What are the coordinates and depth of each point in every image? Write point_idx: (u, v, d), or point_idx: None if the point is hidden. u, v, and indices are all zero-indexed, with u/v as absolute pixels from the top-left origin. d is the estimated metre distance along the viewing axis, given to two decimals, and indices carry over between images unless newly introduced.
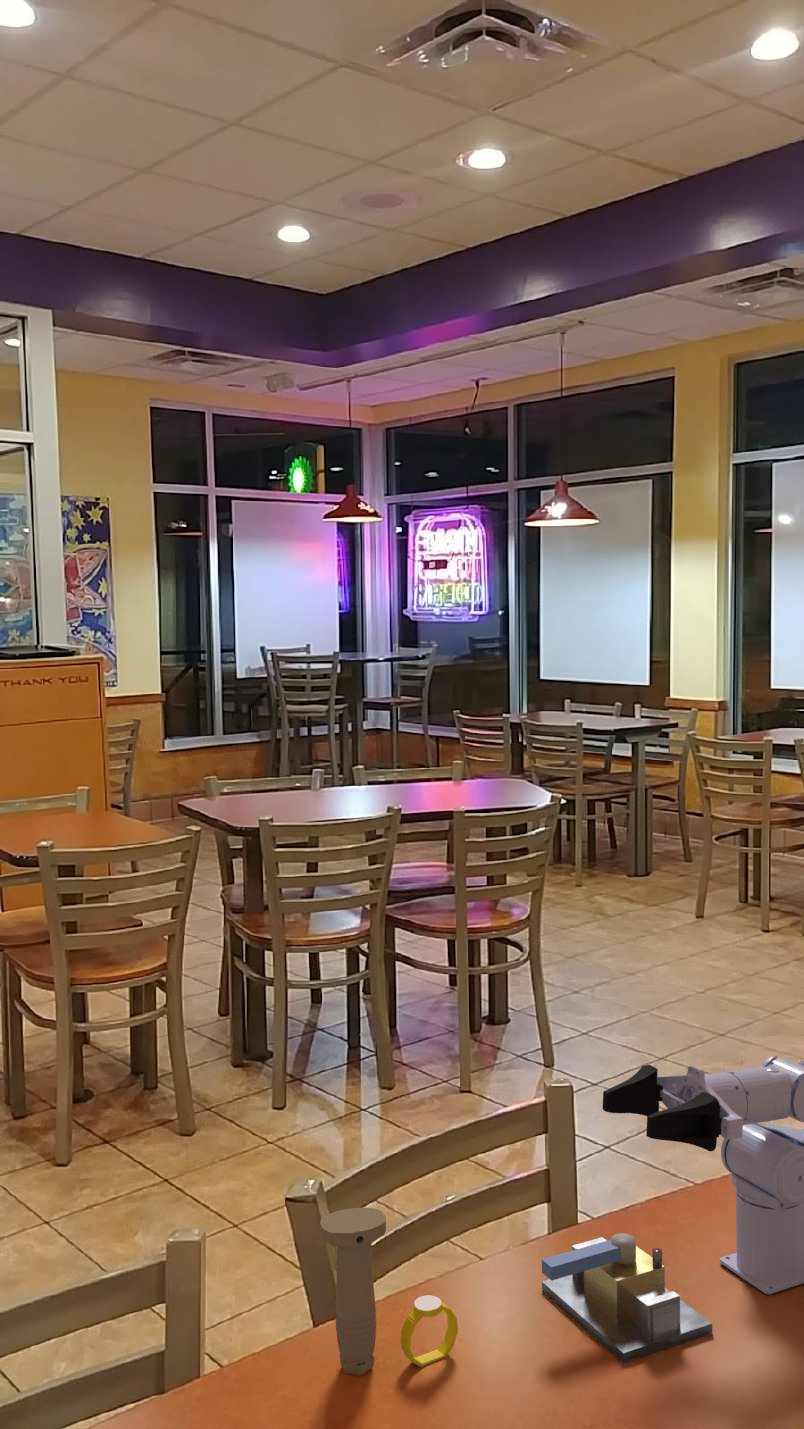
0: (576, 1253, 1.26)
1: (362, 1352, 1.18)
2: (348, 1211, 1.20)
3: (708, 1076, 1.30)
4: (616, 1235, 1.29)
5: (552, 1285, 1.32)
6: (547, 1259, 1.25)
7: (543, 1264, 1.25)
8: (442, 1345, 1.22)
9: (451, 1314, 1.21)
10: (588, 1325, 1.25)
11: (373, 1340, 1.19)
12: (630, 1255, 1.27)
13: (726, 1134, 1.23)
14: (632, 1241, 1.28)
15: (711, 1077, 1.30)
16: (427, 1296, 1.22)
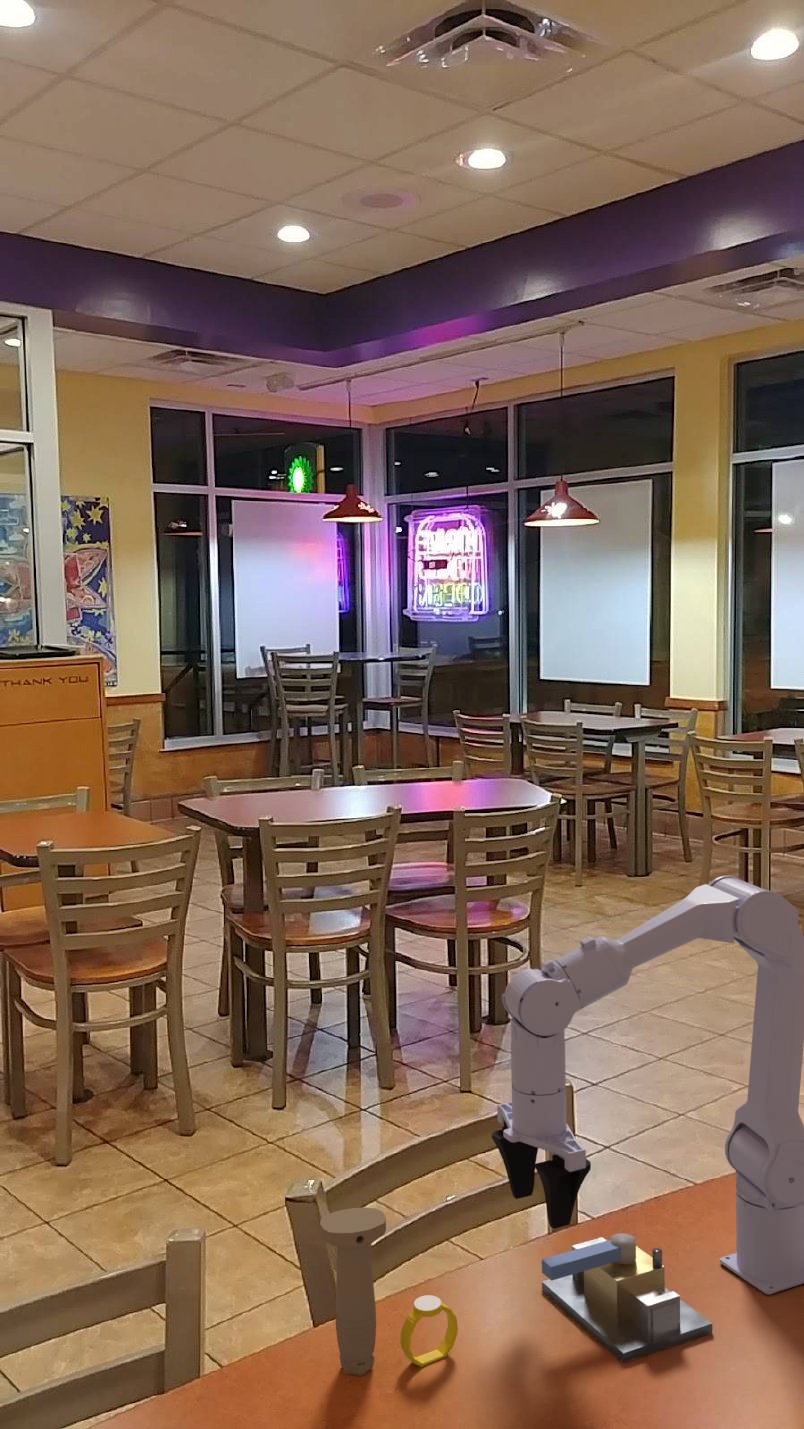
0: (576, 1253, 1.26)
1: (362, 1352, 1.18)
2: (348, 1211, 1.20)
3: (516, 1119, 1.27)
4: (616, 1235, 1.29)
5: (552, 1285, 1.32)
6: (547, 1259, 1.25)
7: (543, 1264, 1.25)
8: (442, 1345, 1.22)
9: (451, 1314, 1.21)
10: (588, 1325, 1.25)
11: (373, 1340, 1.19)
12: (630, 1255, 1.27)
13: None
14: (632, 1241, 1.28)
15: (518, 1119, 1.27)
16: (427, 1296, 1.22)
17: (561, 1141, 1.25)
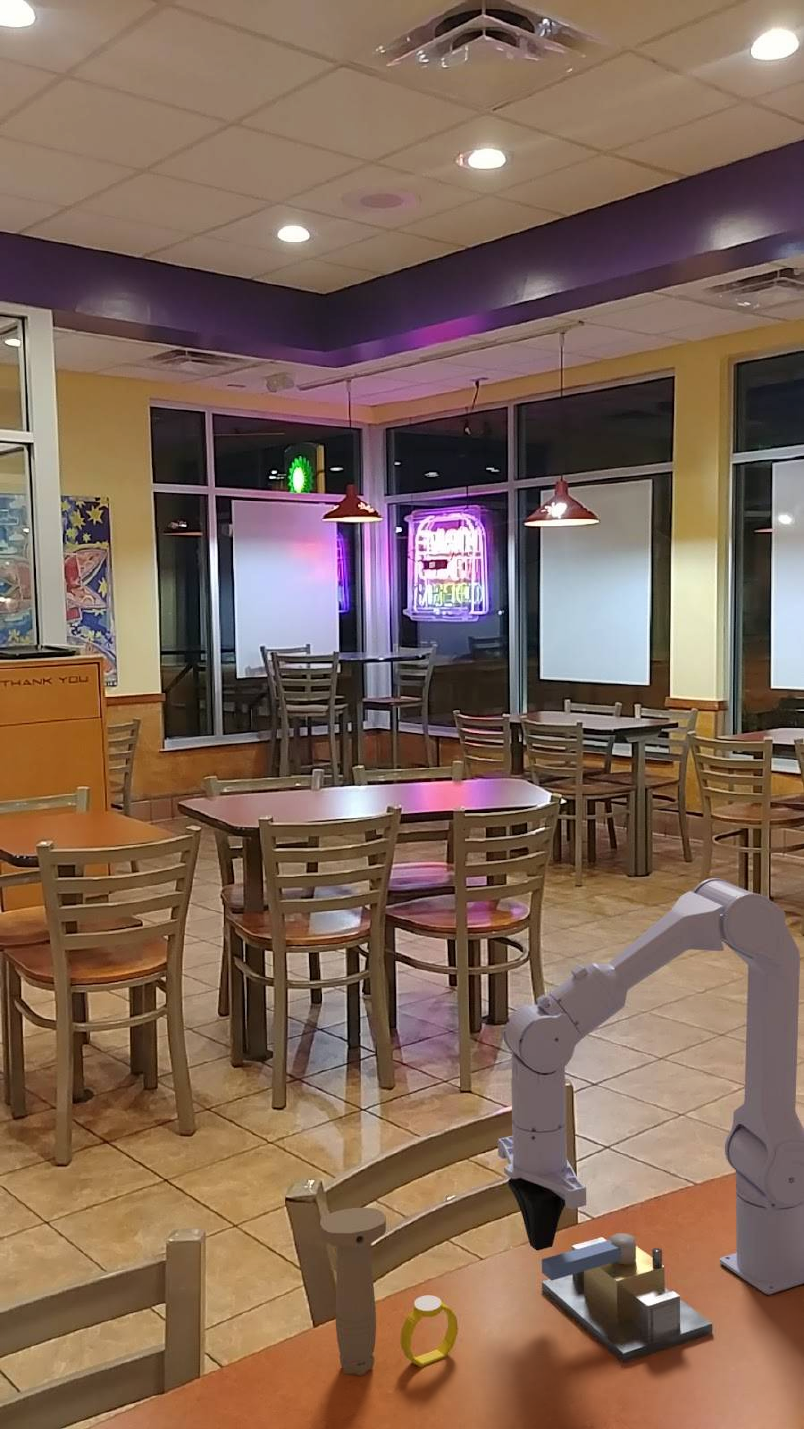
0: (576, 1253, 1.26)
1: (362, 1352, 1.18)
2: (347, 1211, 1.20)
3: (516, 1155, 1.28)
4: (616, 1235, 1.29)
5: (552, 1285, 1.32)
6: (547, 1259, 1.25)
7: (543, 1264, 1.25)
8: (442, 1345, 1.22)
9: (451, 1314, 1.21)
10: (588, 1325, 1.25)
11: (373, 1340, 1.19)
12: (630, 1255, 1.27)
13: None
14: (632, 1241, 1.28)
15: (518, 1155, 1.27)
16: (427, 1296, 1.22)
17: (561, 1178, 1.25)
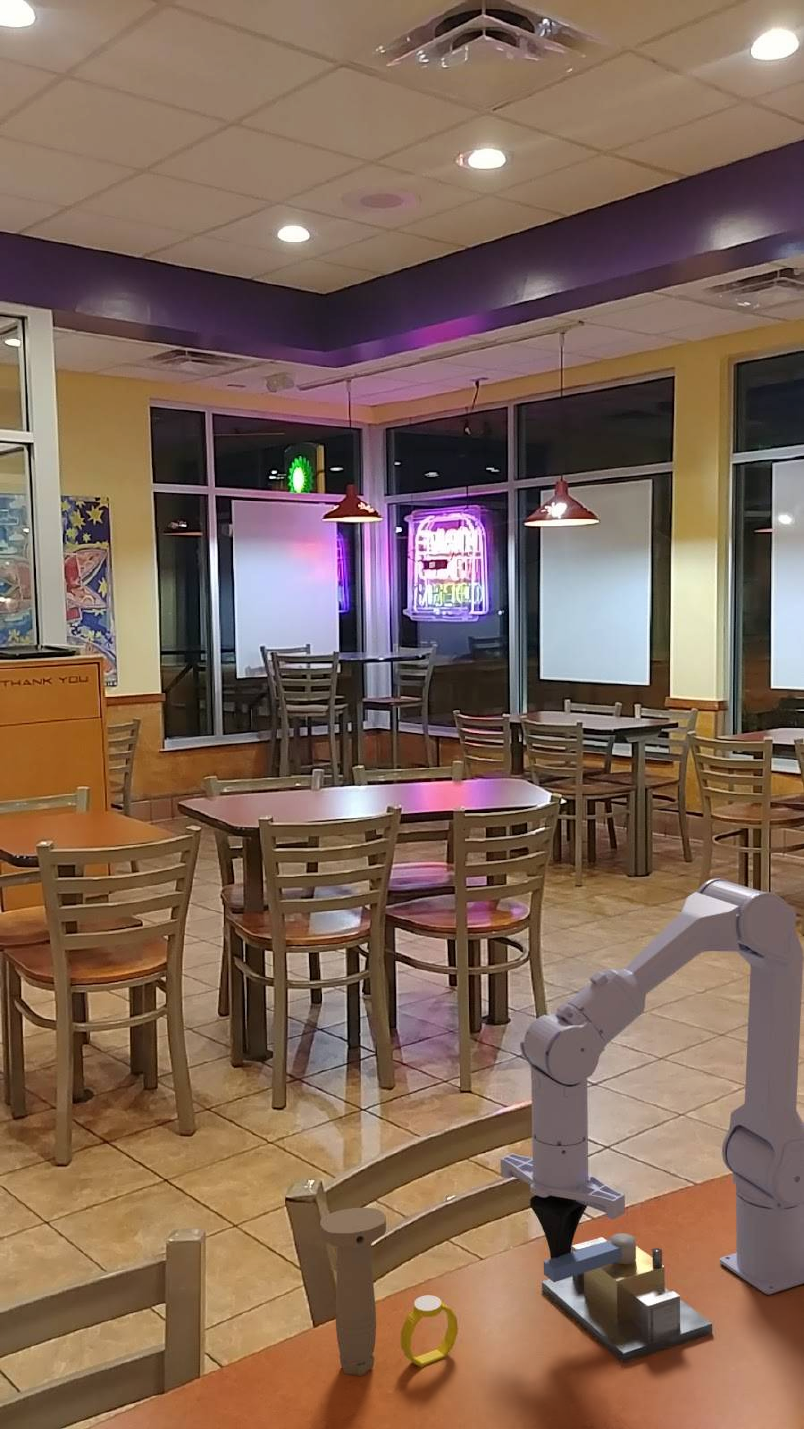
0: (577, 1254, 1.25)
1: (362, 1352, 1.18)
2: (348, 1211, 1.20)
3: (543, 1172, 1.23)
4: (616, 1235, 1.29)
5: (552, 1285, 1.32)
6: (549, 1260, 1.24)
7: (545, 1266, 1.24)
8: (442, 1345, 1.22)
9: (451, 1314, 1.21)
10: (588, 1325, 1.25)
11: (373, 1340, 1.19)
12: (630, 1255, 1.27)
13: None
14: (632, 1241, 1.28)
15: (546, 1172, 1.23)
16: (427, 1296, 1.22)
17: (595, 1189, 1.22)
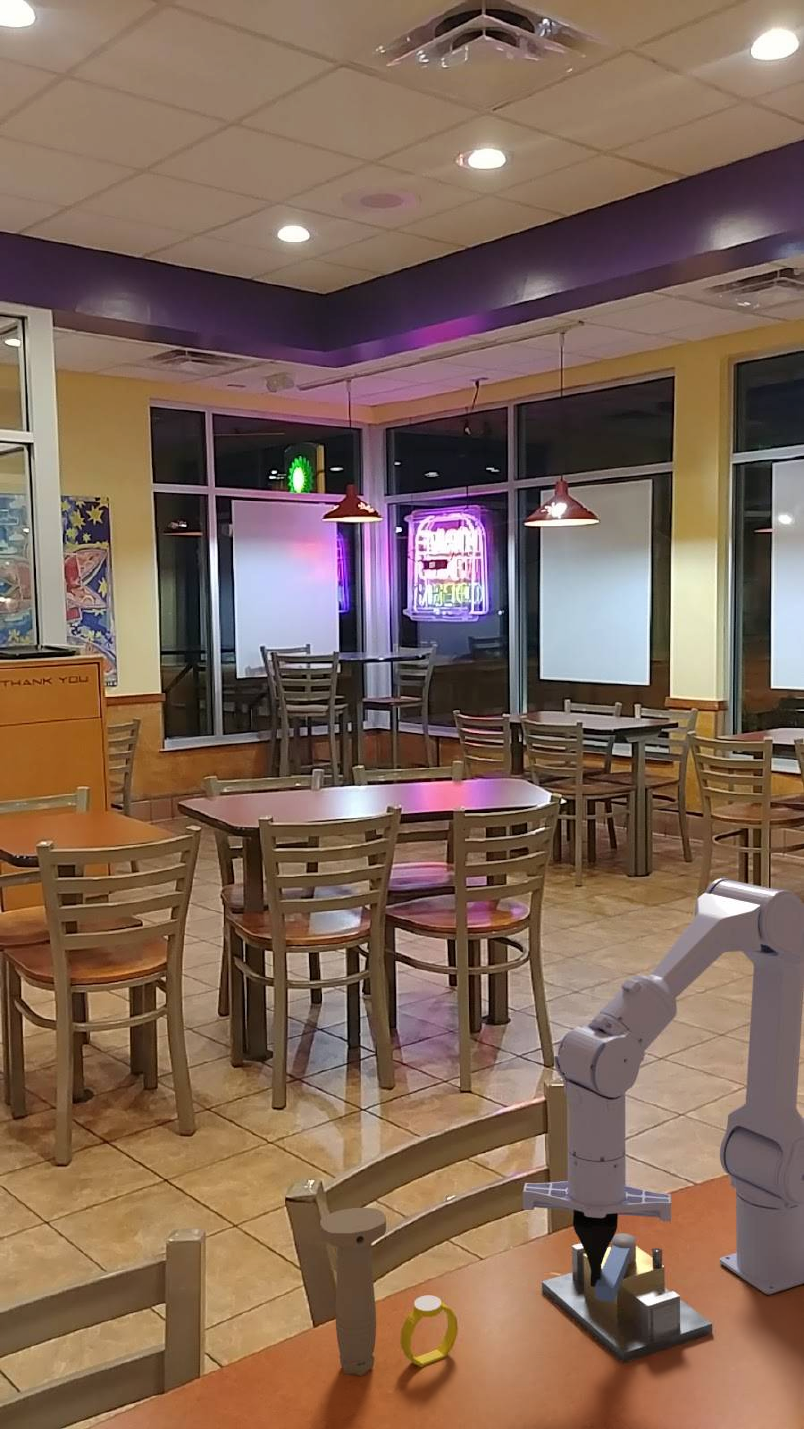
0: (610, 1268, 1.23)
1: (362, 1352, 1.18)
2: (347, 1212, 1.20)
3: (595, 1192, 1.19)
4: (613, 1238, 1.28)
5: (552, 1285, 1.32)
6: (598, 1283, 1.20)
7: (598, 1290, 1.19)
8: (442, 1345, 1.22)
9: (451, 1314, 1.21)
10: (588, 1325, 1.25)
11: (373, 1340, 1.19)
12: (635, 1252, 1.28)
13: None
14: (631, 1238, 1.28)
15: (599, 1191, 1.18)
16: (427, 1296, 1.22)
17: (641, 1196, 1.20)
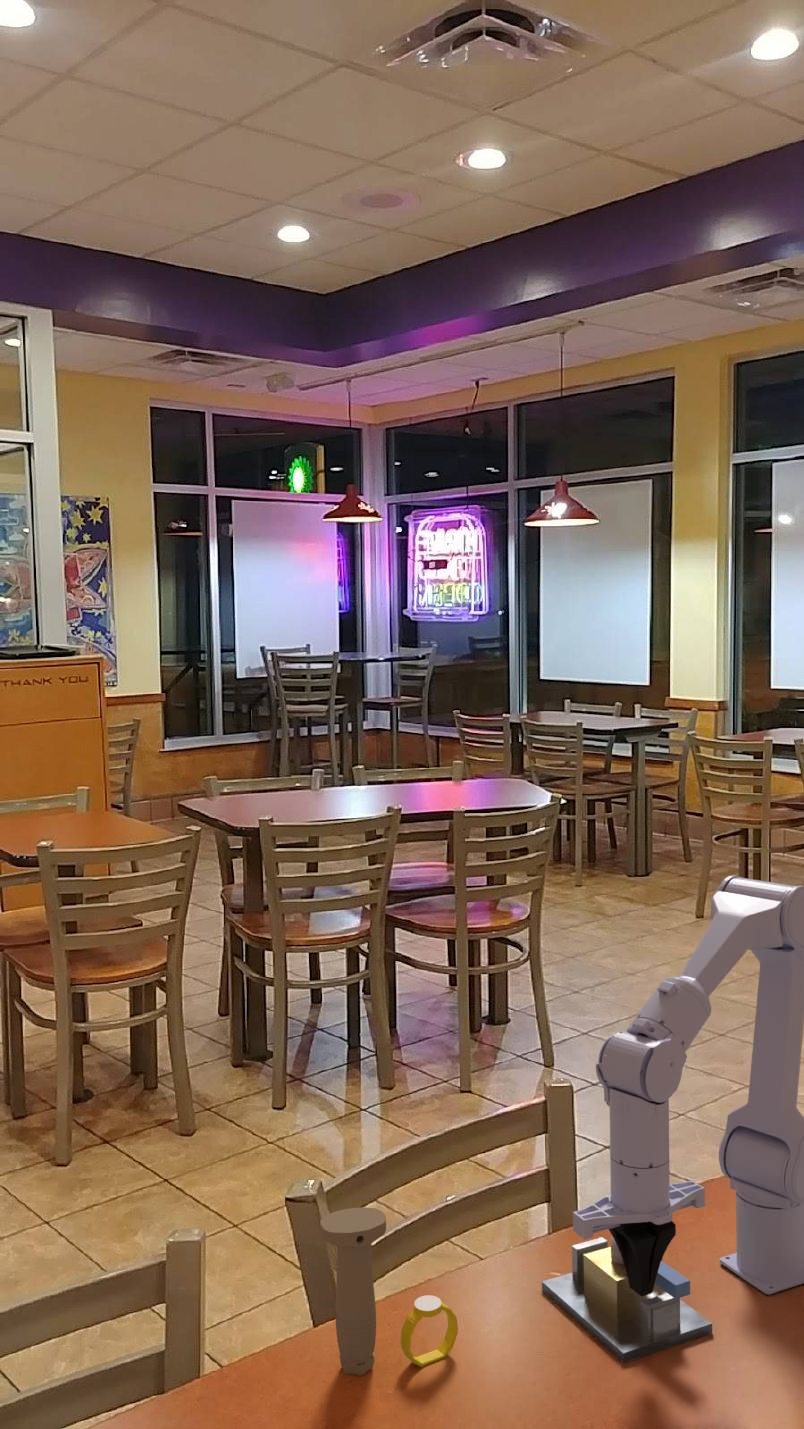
0: None
1: (362, 1352, 1.18)
2: (348, 1211, 1.20)
3: (658, 1198, 1.17)
4: None
5: (552, 1285, 1.32)
6: (674, 1282, 1.20)
7: (678, 1288, 1.19)
8: (442, 1345, 1.22)
9: (451, 1314, 1.21)
10: (588, 1325, 1.25)
11: (373, 1340, 1.19)
12: None
13: None
14: None
15: (661, 1196, 1.17)
16: (427, 1296, 1.22)
17: (676, 1190, 1.22)
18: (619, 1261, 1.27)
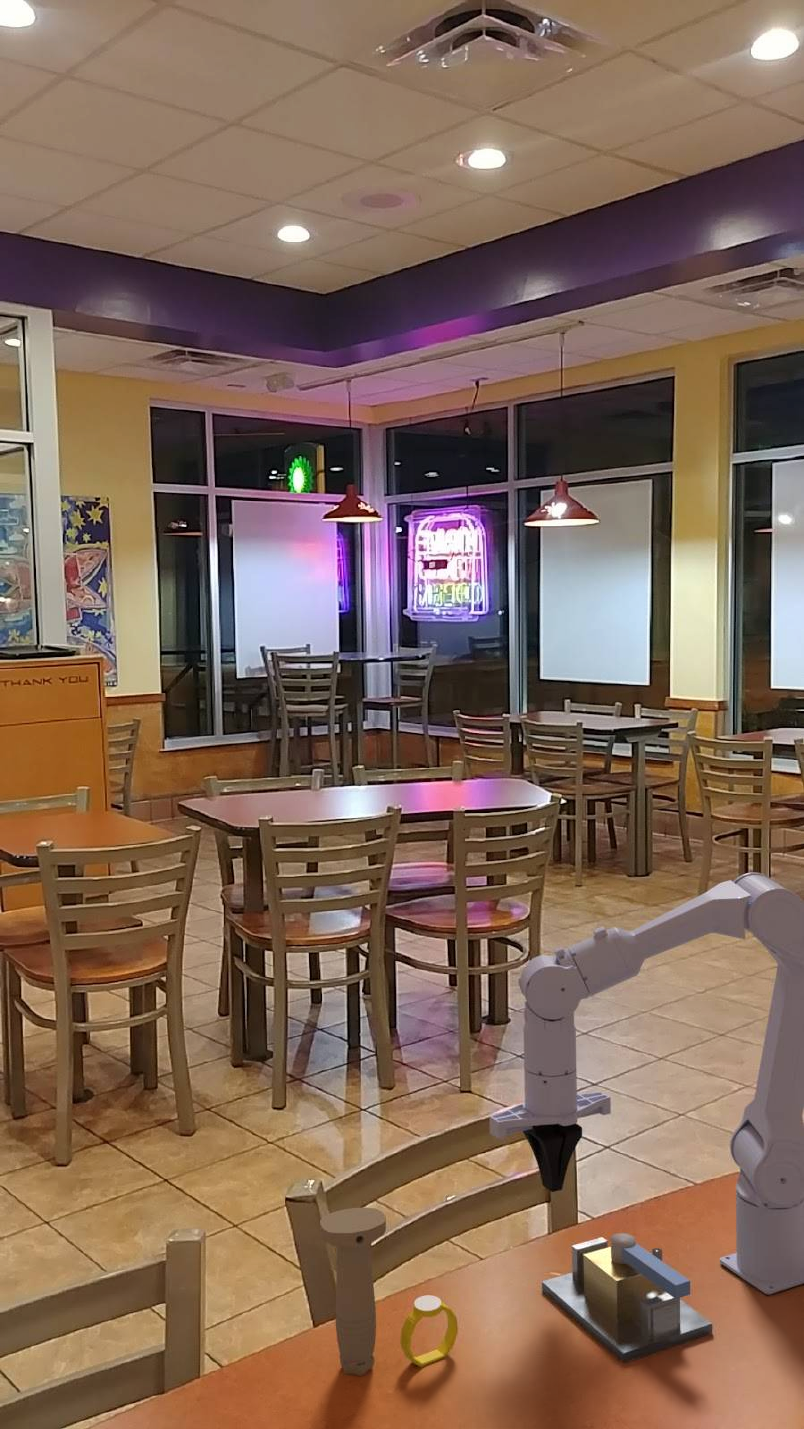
0: (657, 1266, 1.23)
1: (362, 1352, 1.18)
2: (347, 1211, 1.20)
3: (565, 1103, 1.31)
4: (616, 1242, 1.27)
5: (552, 1285, 1.32)
6: (674, 1282, 1.20)
7: (678, 1288, 1.19)
8: (442, 1345, 1.22)
9: (451, 1314, 1.21)
10: (588, 1325, 1.25)
11: (373, 1340, 1.19)
12: None
13: None
14: (625, 1235, 1.29)
15: (568, 1101, 1.32)
16: (427, 1296, 1.22)
17: (584, 1099, 1.36)
18: (619, 1261, 1.27)
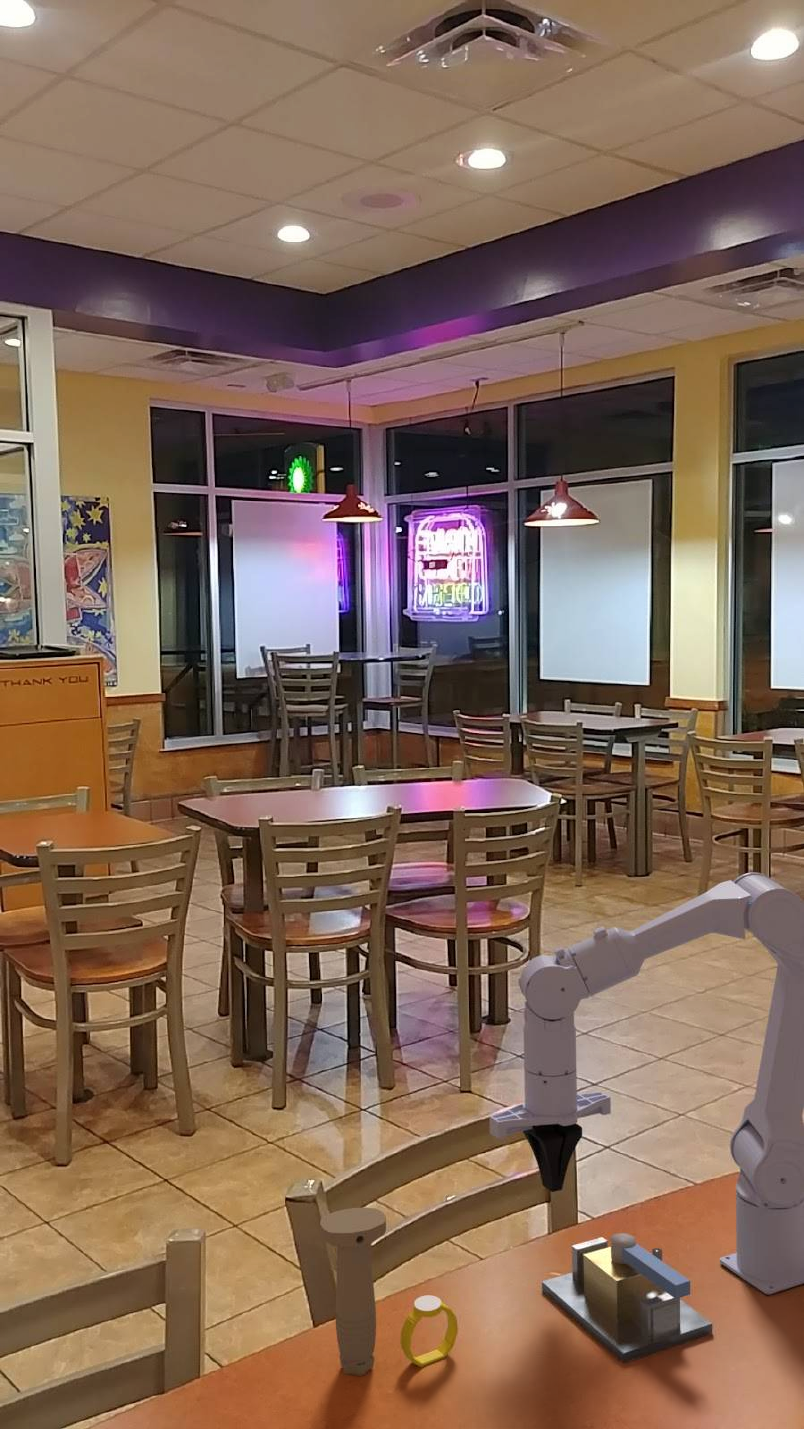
0: (657, 1266, 1.23)
1: (362, 1352, 1.18)
2: (348, 1211, 1.20)
3: (565, 1103, 1.31)
4: (616, 1242, 1.27)
5: (552, 1285, 1.32)
6: (674, 1282, 1.20)
7: (678, 1288, 1.19)
8: (442, 1345, 1.22)
9: (451, 1314, 1.21)
10: (588, 1325, 1.25)
11: (373, 1340, 1.19)
12: None
13: None
14: (625, 1235, 1.29)
15: (568, 1101, 1.32)
16: (427, 1296, 1.22)
17: (584, 1099, 1.36)
18: (619, 1261, 1.27)
